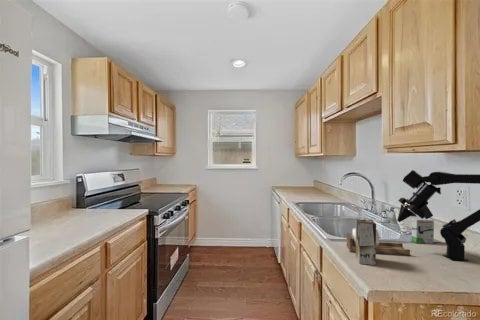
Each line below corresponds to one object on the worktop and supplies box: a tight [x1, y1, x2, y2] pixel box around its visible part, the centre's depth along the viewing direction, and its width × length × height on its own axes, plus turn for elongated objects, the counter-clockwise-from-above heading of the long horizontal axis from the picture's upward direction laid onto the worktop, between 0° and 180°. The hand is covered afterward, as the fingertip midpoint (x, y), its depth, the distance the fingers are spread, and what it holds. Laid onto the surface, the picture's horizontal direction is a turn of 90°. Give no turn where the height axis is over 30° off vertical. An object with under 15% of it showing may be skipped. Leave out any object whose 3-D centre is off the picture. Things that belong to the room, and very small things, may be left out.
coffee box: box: [355, 219, 377, 266], centre depth 125 cm, size 9×6×16 cm
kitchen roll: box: [351, 228, 380, 248], centre depth 140 cm, size 10×8×8 cm
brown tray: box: [346, 232, 411, 257], centre depth 139 cm, size 24×11×6 cm, turn 78°
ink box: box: [411, 217, 435, 245], centre depth 153 cm, size 9×5×12 cm, turn 88°
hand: (398, 221), depth 140 cm, fingers closed
